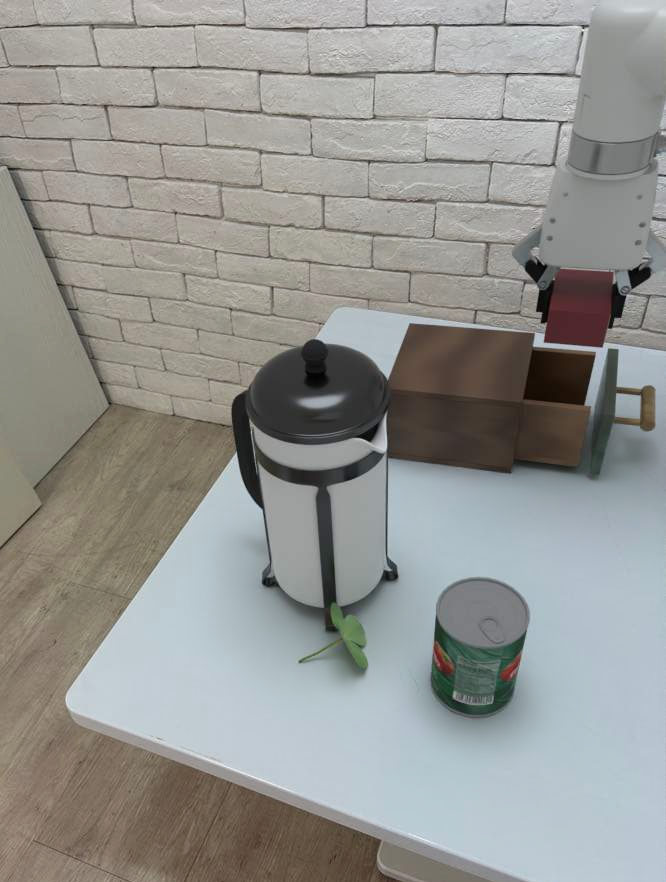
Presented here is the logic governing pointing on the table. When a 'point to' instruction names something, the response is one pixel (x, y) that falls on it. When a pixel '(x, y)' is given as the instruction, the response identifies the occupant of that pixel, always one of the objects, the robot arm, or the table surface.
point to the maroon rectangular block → (580, 308)
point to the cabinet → (458, 396)
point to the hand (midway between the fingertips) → (576, 318)
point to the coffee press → (319, 471)
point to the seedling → (347, 635)
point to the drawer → (572, 407)
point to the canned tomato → (478, 645)
